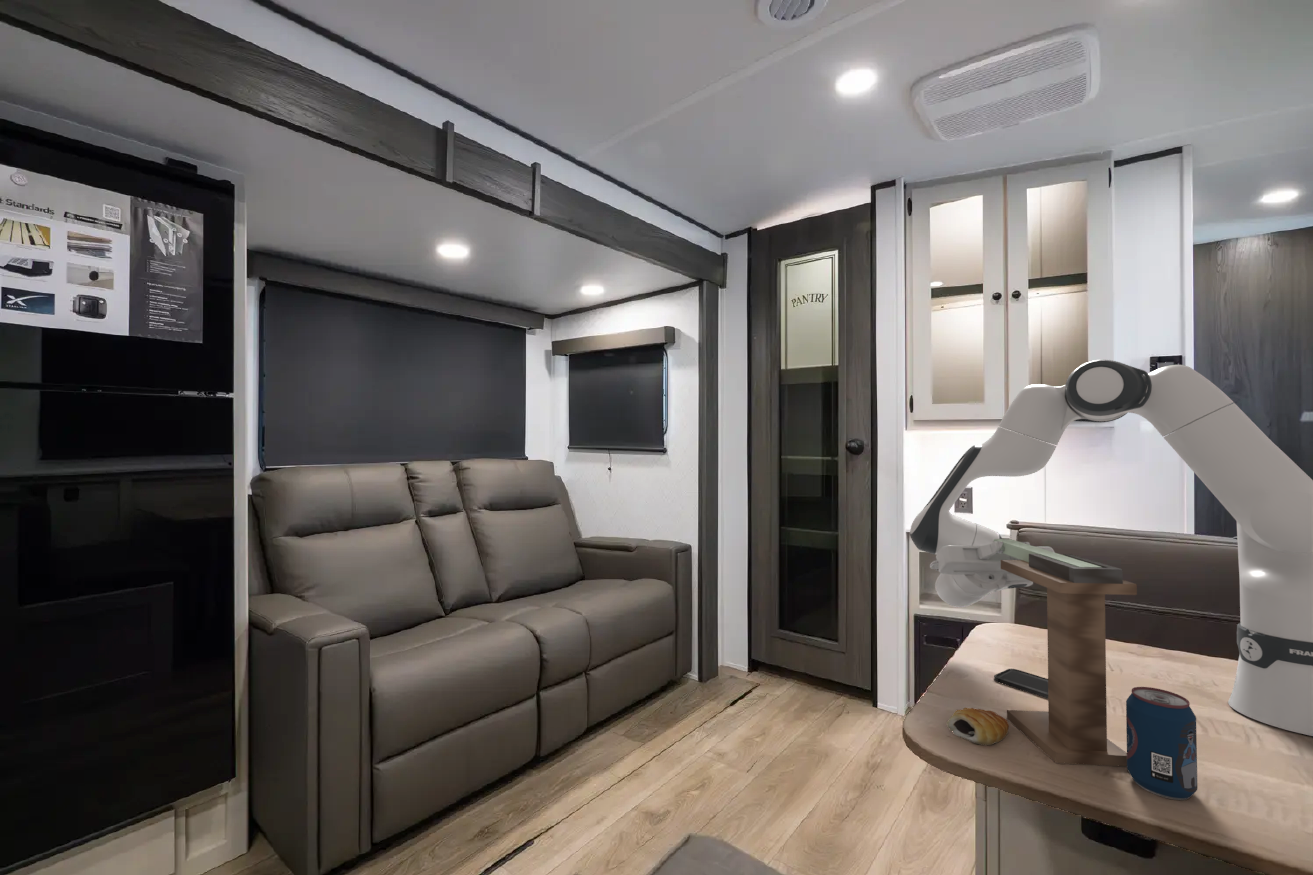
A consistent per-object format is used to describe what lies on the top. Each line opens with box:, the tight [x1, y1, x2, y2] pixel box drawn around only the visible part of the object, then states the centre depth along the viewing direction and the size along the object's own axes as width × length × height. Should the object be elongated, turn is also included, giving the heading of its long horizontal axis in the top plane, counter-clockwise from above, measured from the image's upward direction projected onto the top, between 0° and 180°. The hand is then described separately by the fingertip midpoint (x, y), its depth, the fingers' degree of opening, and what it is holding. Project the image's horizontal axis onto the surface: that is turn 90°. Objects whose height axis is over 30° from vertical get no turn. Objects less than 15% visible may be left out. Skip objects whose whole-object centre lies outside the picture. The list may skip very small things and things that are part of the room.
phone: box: [993, 668, 1048, 700], centre depth 104 cm, size 8×1×15 cm
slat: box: [994, 538, 1102, 568], centre depth 91 cm, size 3×24×2 cm, turn 175°
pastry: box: [946, 707, 1010, 746], centre depth 88 cm, size 9×7×4 cm
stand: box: [1001, 553, 1138, 768], centre depth 86 cm, size 10×16×28 cm, turn 175°
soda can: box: [1125, 686, 1198, 801], centre depth 74 cm, size 7×7×12 cm
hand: (1013, 545), depth 100 cm, fingers closed on slat, 3 cm apart
